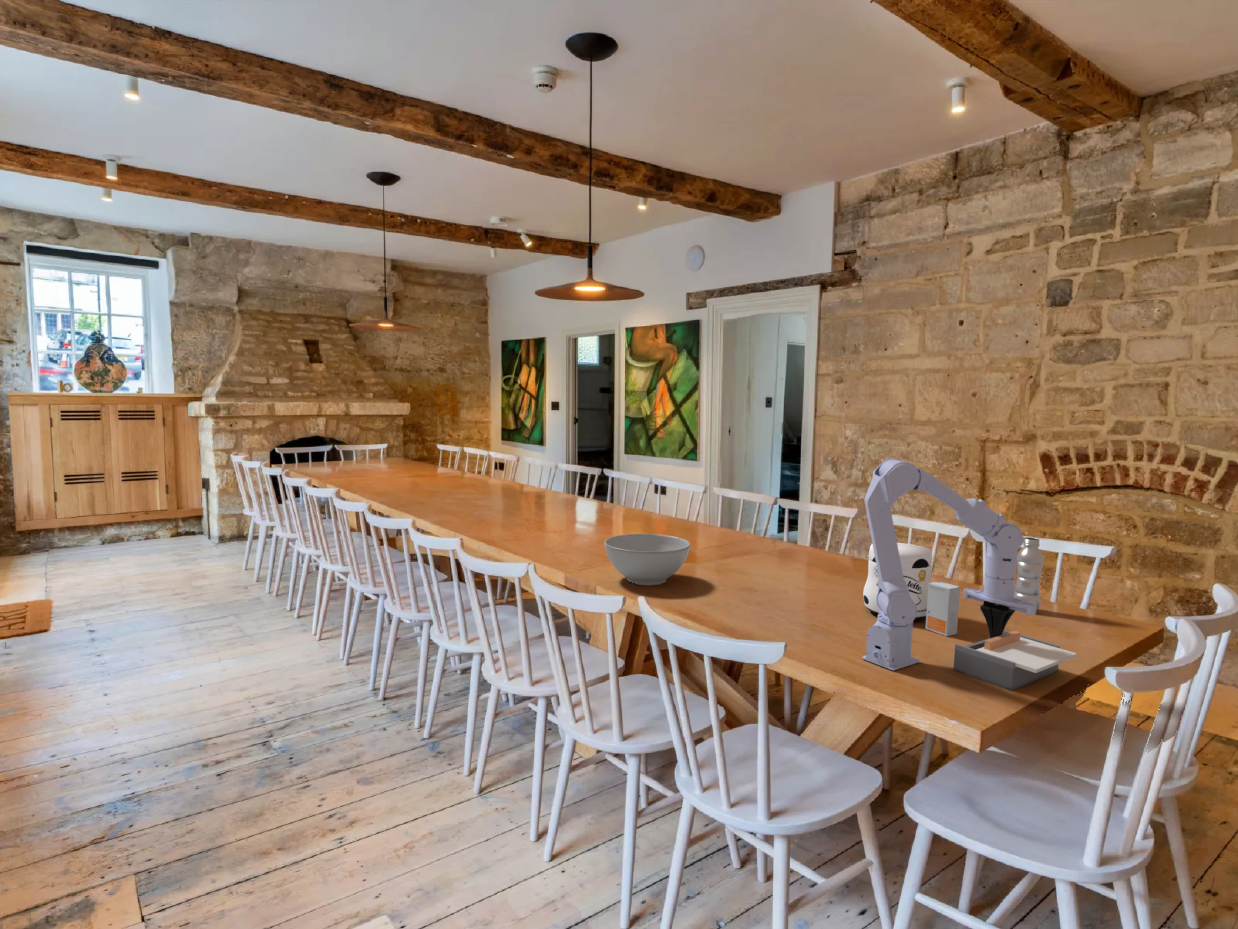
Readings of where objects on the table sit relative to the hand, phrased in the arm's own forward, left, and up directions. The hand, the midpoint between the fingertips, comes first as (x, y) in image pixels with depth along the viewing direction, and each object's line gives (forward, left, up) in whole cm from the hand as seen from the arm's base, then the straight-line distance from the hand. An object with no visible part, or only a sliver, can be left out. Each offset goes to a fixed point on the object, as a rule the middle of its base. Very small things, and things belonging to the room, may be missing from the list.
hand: (995, 638), depth 146 cm
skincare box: (+11, +19, -6) cm, 23 cm away
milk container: (+14, +33, -6) cm, 37 cm away
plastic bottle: (+49, +17, -6) cm, 52 cm away
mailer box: (0, -3, -6) cm, 7 cm away
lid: (0, -6, -1) cm, 6 cm away
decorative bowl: (-25, +94, -6) cm, 98 cm away
